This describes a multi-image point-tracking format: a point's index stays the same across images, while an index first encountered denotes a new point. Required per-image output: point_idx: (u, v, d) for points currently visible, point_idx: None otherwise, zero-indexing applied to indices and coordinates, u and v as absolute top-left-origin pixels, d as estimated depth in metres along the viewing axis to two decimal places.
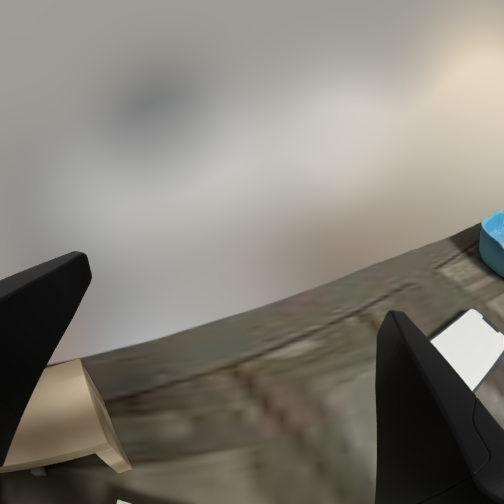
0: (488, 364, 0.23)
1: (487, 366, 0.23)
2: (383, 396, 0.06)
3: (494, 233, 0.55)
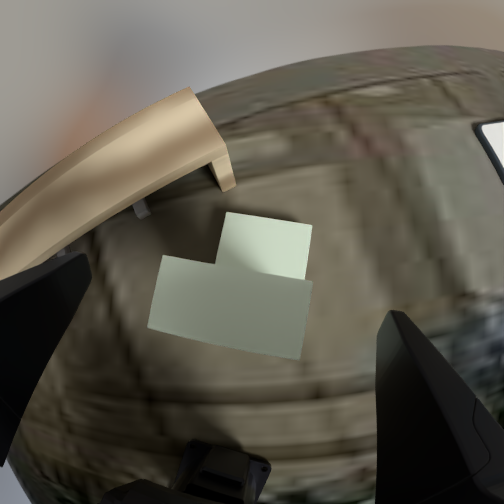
0: None
1: None
2: (383, 396, 0.06)
3: None
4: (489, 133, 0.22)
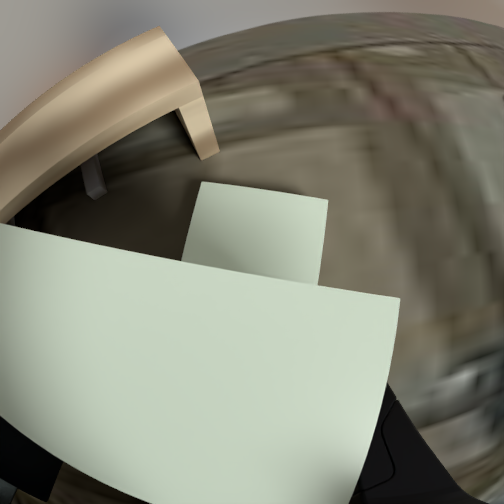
0: None
1: None
2: None
3: None
4: None
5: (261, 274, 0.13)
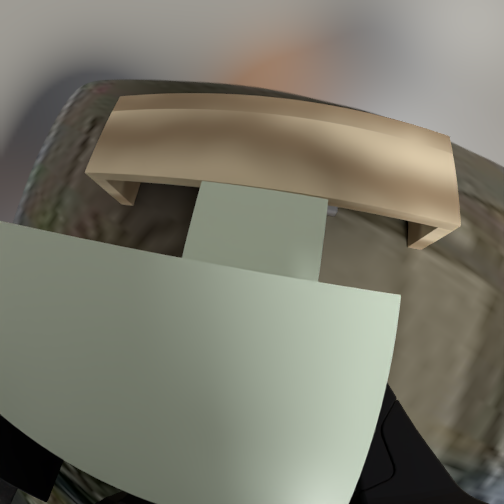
0: None
1: None
2: None
3: None
4: None
5: None
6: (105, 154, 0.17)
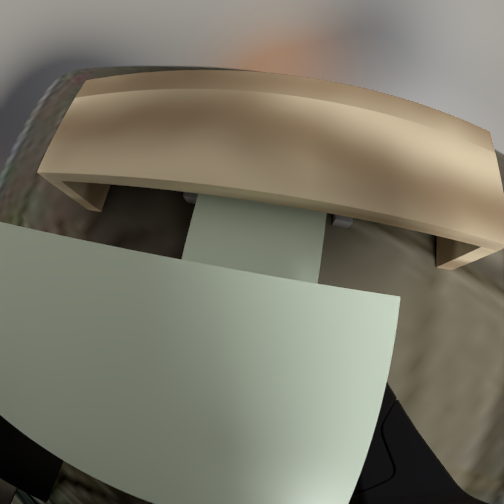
0: None
1: None
2: None
3: None
4: None
5: (261, 274, 0.13)
6: (60, 149, 0.13)
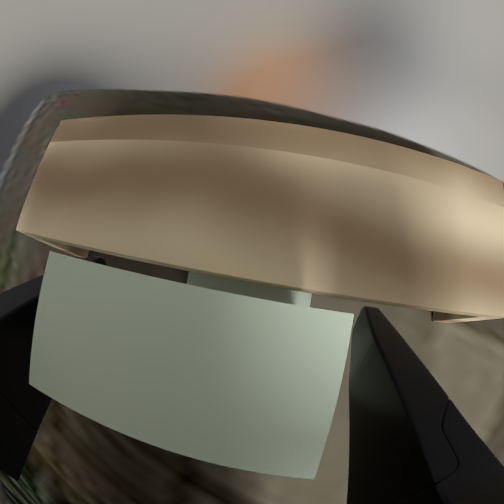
0: None
1: None
2: (355, 394, 0.06)
3: None
4: None
5: None
6: (36, 206, 0.12)
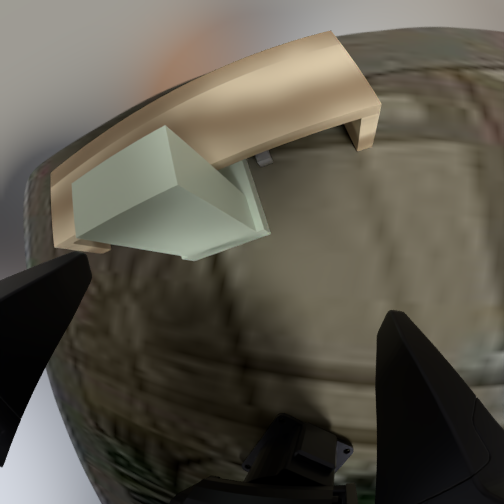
0: None
1: None
2: (383, 396, 0.06)
3: None
4: None
5: None
6: (61, 224, 0.19)
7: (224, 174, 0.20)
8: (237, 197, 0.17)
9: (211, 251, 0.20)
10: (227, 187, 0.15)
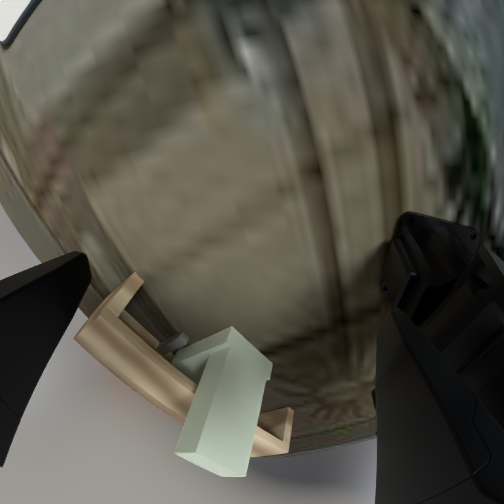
0: None
1: None
2: (383, 396, 0.06)
3: None
4: (4, 30, 0.13)
5: None
6: (271, 450, 0.27)
7: (202, 365, 0.26)
8: (208, 372, 0.23)
9: (258, 361, 0.26)
10: (202, 387, 0.21)
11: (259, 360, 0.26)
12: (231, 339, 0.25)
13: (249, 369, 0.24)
